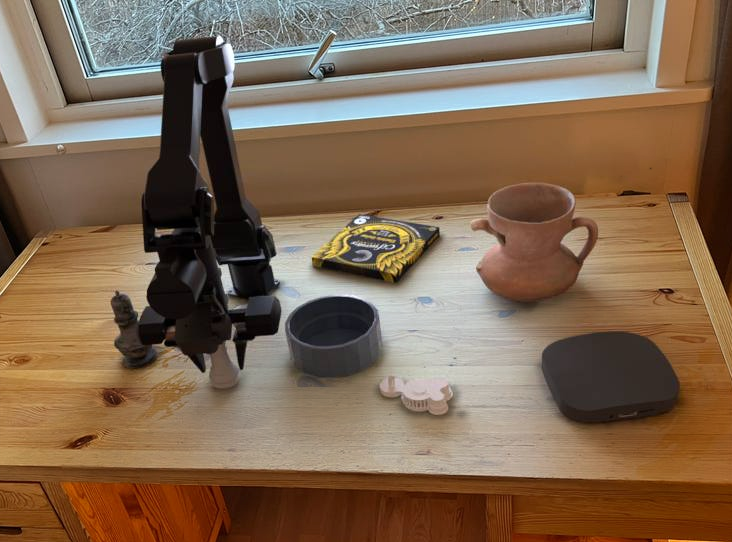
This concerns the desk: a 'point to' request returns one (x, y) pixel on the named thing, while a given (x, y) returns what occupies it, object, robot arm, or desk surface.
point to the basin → (334, 336)
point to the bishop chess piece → (130, 334)
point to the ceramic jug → (532, 242)
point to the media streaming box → (609, 376)
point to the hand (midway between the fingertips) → (223, 369)
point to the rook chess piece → (223, 369)
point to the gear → (419, 393)
